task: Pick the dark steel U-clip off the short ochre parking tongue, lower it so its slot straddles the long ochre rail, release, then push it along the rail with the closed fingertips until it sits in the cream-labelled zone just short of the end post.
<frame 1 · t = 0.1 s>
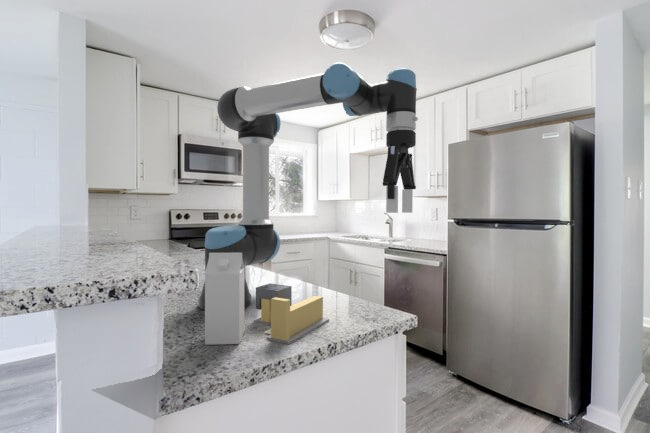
hand: (400, 212, 90), 28 cm above the counter, fingers open, 13 cm apart
label: (276, 330, 81), on the counter
rail: (299, 329, 81), on the counter
milk carton: (225, 339, 75), on the counter
stub: (273, 319, 89), on the counter
clip: (273, 308, 89), point 3 cm above the counter, touching stub
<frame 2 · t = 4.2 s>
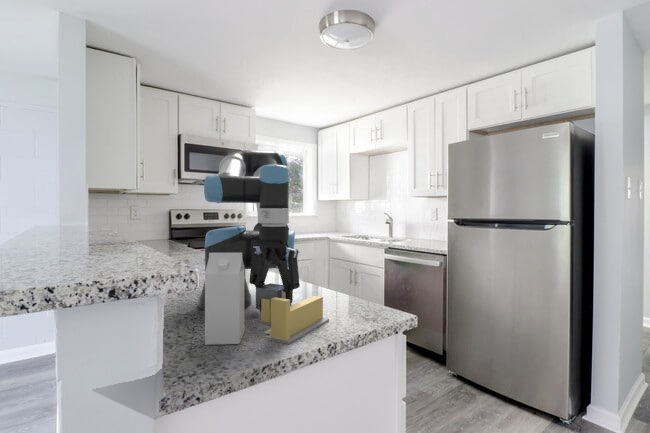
hand: (273, 313, 89), 2 cm above the counter, fingers closed on clip, 7 cm apart
clip: (273, 307, 89), point 3 cm above the counter, touching gripper, stub
everything else where it was.
when the fingers open (3 cm above the counter, at t = 9.2 s): clip drops 2 cm, resting on rail.
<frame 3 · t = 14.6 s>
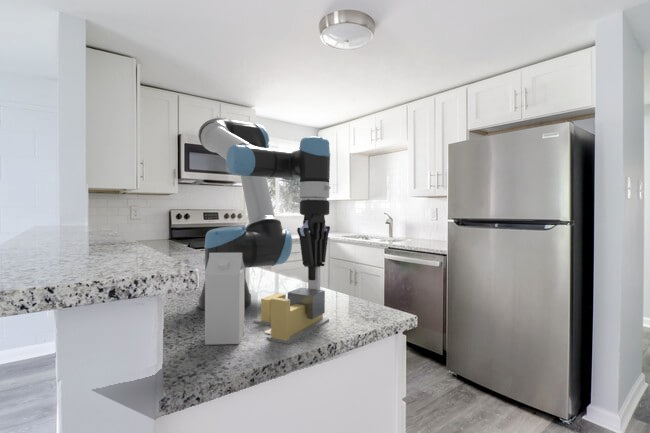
hand: (314, 292, 87), 8 cm above the counter, fingers closed
clip: (306, 313, 84), point 3 cm above the counter, touching rail
everything else where it was.
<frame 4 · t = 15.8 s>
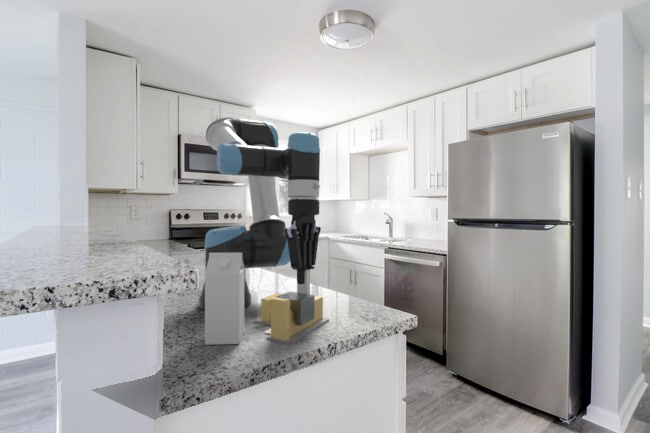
hand: (303, 296, 83), 8 cm above the counter, fingers closed
clip: (294, 319, 79), point 3 cm above the counter, touching gripper, rail
everything else where it was.
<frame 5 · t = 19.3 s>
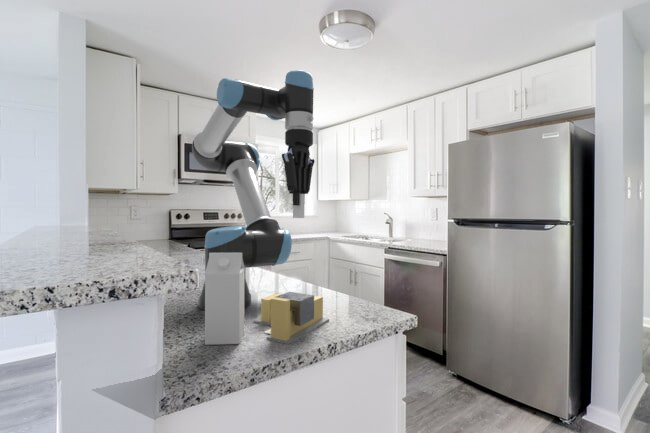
hand: (298, 217, 93), 26 cm above the counter, fingers closed
clip: (294, 319, 79), point 3 cm above the counter, touching rail
everything else where it was.
at the end: clip 0.5 cm from the target spot, point 3.0 cm above the counter; clip tilted 0°; the gripper is holding nothing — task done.
